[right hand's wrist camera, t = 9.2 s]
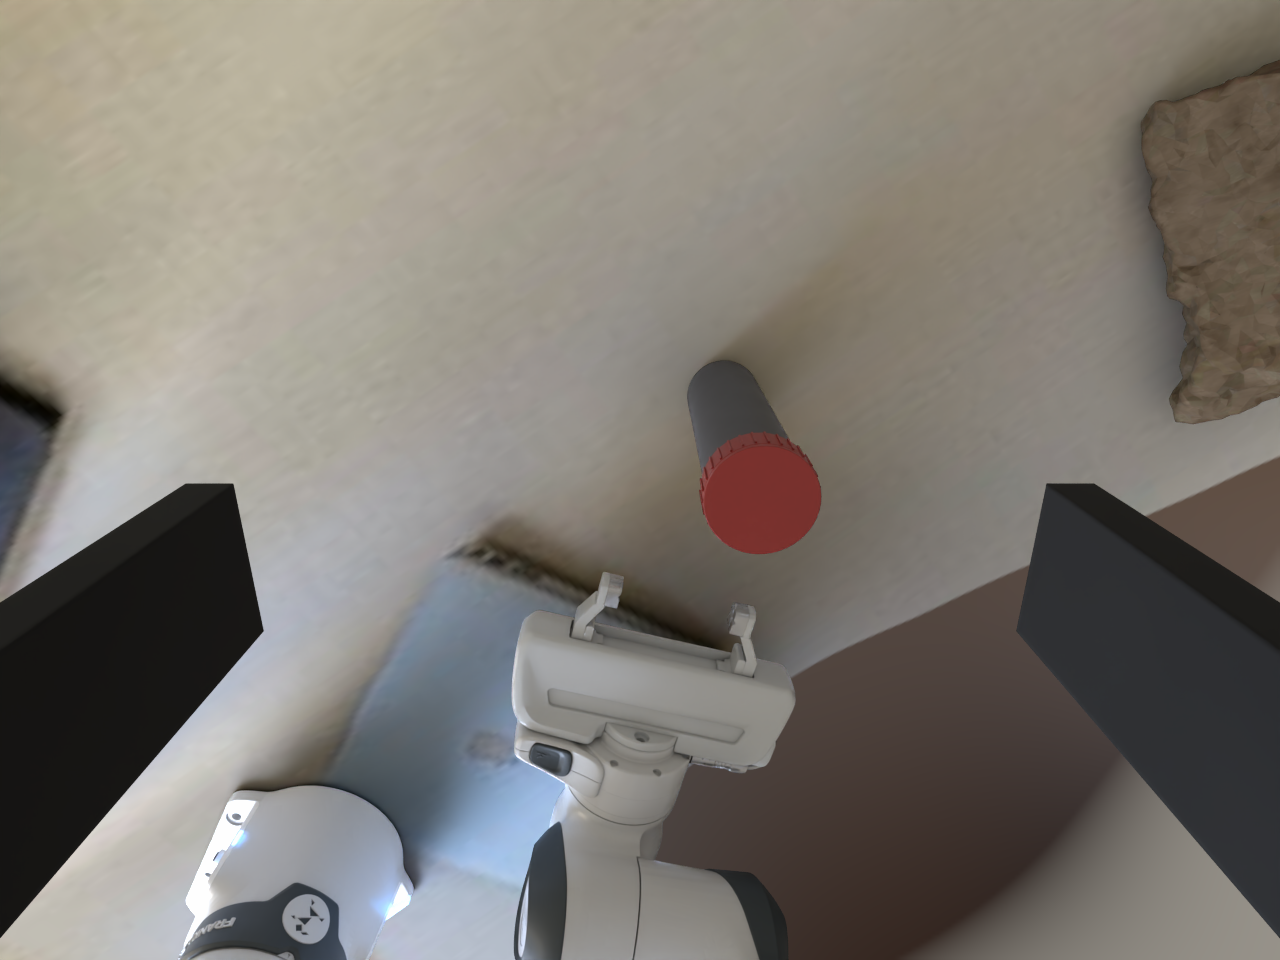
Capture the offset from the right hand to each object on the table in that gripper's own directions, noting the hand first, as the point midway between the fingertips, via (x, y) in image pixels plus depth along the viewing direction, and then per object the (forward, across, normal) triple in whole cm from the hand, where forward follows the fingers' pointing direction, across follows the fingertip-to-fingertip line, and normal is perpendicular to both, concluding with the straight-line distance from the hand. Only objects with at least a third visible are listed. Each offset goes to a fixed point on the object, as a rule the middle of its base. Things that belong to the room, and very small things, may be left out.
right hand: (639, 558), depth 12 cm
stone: (+41, -40, -3) cm, 57 cm away
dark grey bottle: (+41, -6, +8) cm, 42 cm away
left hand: (+35, -3, +20) cm, 40 cm away
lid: (+22, -6, +8) cm, 24 cm away
